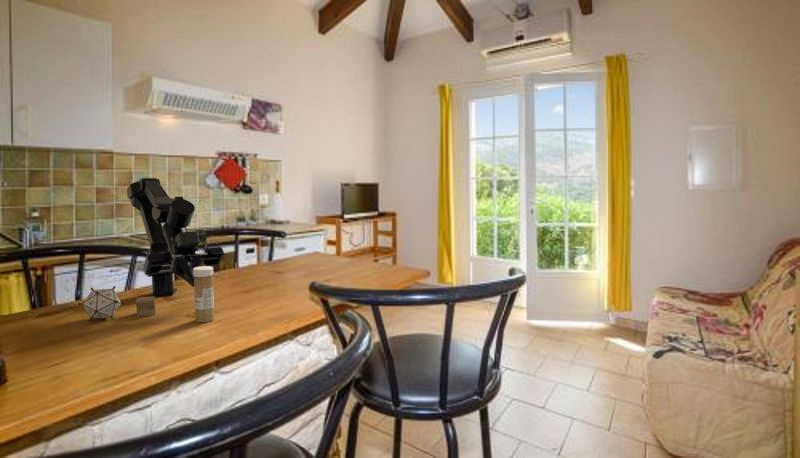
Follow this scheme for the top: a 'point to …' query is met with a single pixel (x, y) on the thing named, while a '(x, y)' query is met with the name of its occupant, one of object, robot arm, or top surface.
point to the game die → (101, 303)
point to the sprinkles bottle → (203, 293)
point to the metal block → (145, 306)
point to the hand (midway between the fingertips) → (194, 285)
